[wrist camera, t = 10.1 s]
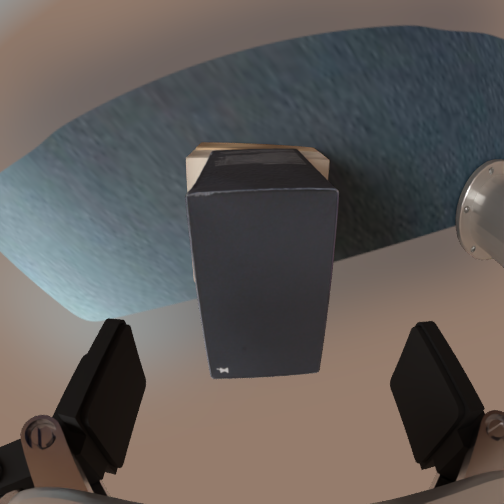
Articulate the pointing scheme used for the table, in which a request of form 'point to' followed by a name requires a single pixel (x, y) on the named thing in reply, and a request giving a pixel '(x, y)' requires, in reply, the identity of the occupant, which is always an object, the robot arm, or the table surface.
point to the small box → (262, 260)
